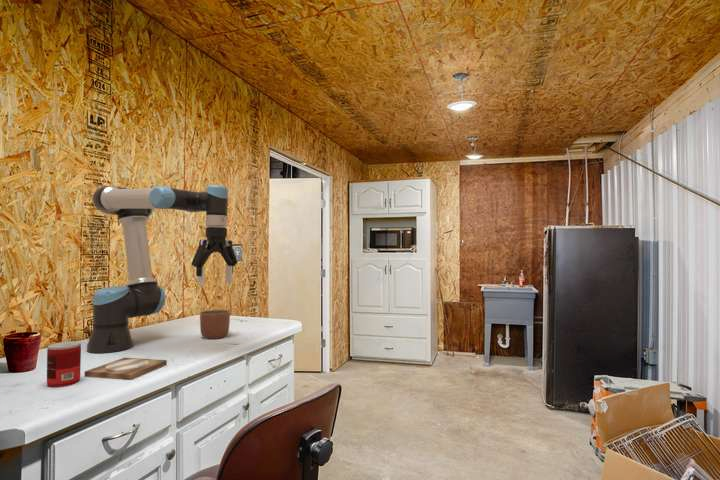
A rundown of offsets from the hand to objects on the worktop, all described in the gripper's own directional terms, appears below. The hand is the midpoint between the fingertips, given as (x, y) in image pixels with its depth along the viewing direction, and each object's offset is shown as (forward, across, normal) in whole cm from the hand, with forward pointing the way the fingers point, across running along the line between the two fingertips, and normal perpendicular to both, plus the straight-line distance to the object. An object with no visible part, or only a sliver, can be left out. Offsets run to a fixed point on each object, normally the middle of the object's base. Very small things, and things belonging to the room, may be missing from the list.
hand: (215, 284), depth 152 cm
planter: (+26, +20, +20) cm, 38 cm away
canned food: (+26, -45, +12) cm, 53 cm away
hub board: (+25, -29, +7) cm, 39 cm away
